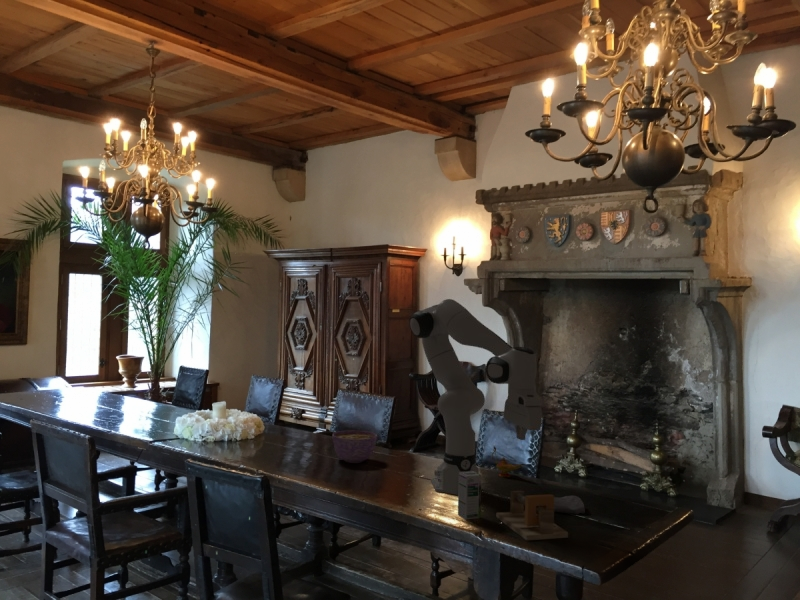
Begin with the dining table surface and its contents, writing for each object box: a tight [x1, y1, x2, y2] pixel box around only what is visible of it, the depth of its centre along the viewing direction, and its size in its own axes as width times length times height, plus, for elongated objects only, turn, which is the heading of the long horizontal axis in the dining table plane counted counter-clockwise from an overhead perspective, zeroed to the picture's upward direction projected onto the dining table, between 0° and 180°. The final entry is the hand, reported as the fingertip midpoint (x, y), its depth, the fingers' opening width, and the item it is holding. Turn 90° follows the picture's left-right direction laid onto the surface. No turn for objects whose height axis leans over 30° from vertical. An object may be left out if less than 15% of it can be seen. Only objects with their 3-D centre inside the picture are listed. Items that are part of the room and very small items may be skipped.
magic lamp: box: [491, 446, 526, 478], centre depth 273 cm, size 7×18×11 cm, turn 41°
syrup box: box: [457, 471, 483, 521], centre depth 219 cm, size 6×6×14 cm
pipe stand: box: [496, 489, 569, 541], centre depth 210 cm, size 22×14×8 cm, turn 16°
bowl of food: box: [331, 430, 378, 464], centre depth 290 cm, size 20×20×12 cm
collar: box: [524, 493, 555, 527], centre depth 205 cm, size 2×9×9 cm, turn 106°
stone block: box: [554, 495, 586, 515], centre depth 230 cm, size 12×5×10 cm
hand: (520, 439), depth 215 cm, fingers closed
